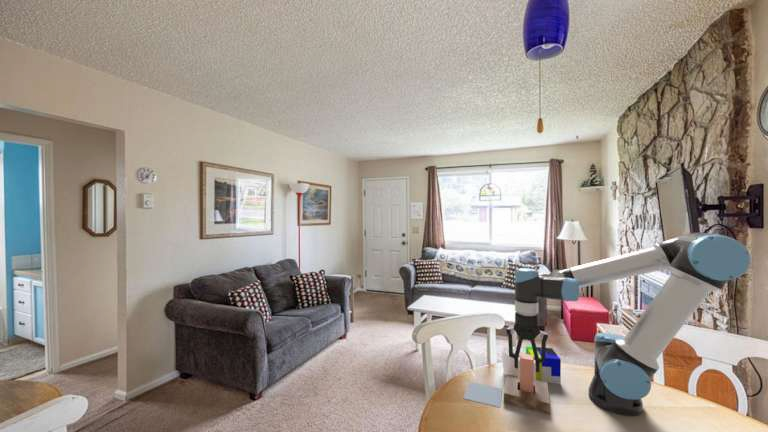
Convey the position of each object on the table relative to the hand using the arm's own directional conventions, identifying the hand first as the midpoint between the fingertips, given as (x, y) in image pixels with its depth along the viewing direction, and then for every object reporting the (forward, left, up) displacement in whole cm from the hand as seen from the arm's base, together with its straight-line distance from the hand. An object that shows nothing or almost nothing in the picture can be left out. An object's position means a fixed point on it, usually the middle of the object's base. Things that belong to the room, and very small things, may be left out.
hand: (526, 378), depth 109 cm
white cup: (+5, -15, -7) cm, 17 cm away
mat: (+14, +4, -7) cm, 16 cm away
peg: (0, 0, -5) cm, 5 cm away
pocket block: (0, 0, -7) cm, 7 cm away
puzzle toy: (-6, -19, -7) cm, 21 cm away
